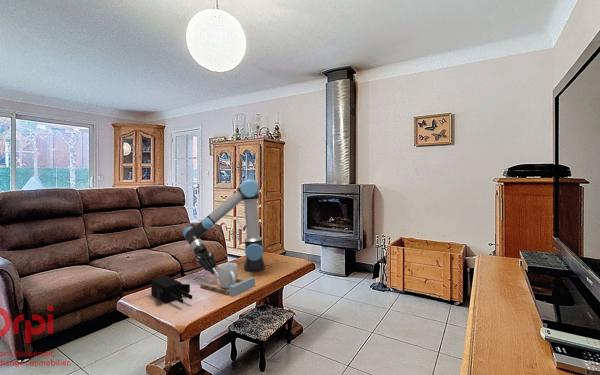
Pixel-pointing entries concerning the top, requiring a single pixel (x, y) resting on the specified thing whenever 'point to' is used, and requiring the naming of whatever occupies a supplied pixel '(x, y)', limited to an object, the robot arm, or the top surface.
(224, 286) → the mug
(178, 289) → the black power adapter
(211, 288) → the channel
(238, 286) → the stop
